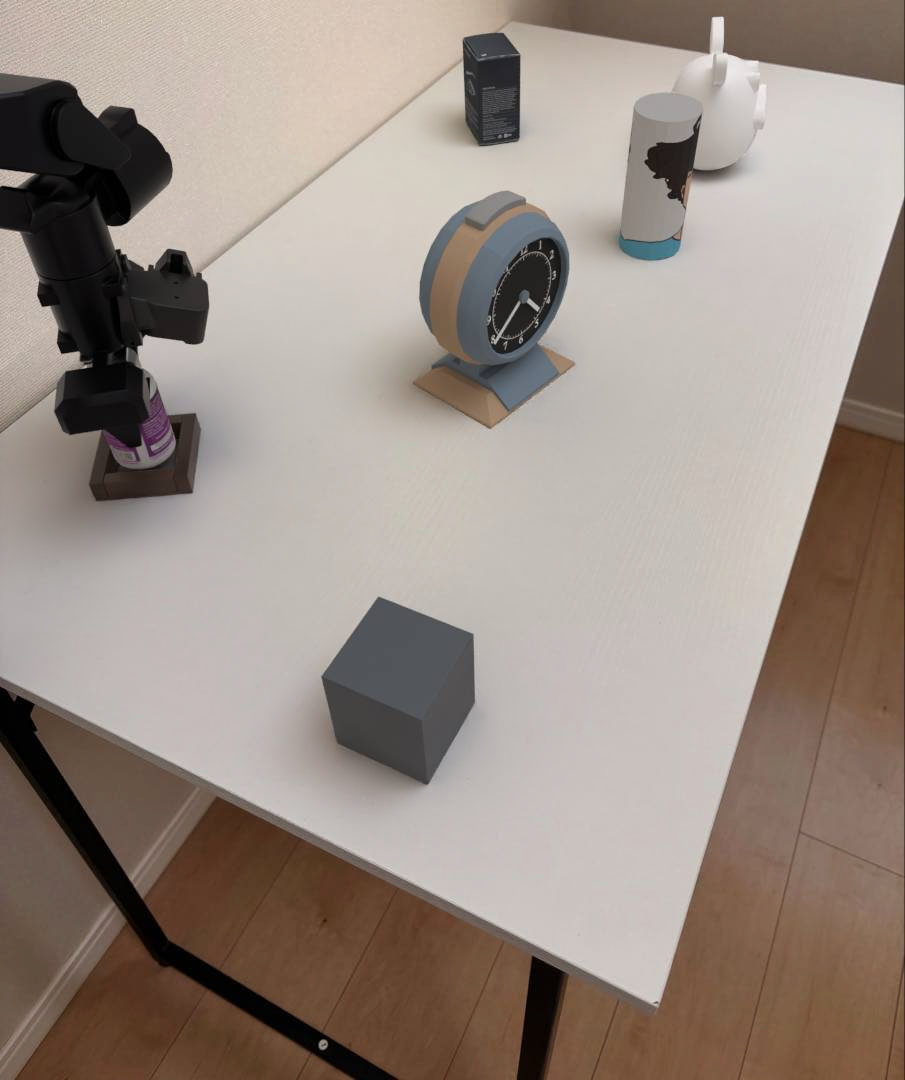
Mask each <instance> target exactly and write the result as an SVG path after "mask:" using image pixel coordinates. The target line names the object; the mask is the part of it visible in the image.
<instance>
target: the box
mask: <svg viewBox="0 0 905 1080" xmlns="http://www.w3.org/2000/svg"><path fill="white" fill-rule="evenodd" d="M461 41H462V63H463V65H462V66H463V90H464V91H463V93H464V114H465V115H464V120H465V123H466V125H467V126H468V128H469V129H470V131H471V132H472V134H473V136H474V138H475V139H476V141H477V143H478V145H480V146H489V145H498V144H499V145H500V144H503V143H510V142H516V141H519V140H520V138H521V135H520V134H521V56H522V55H521V53H520V52H519V51H518V49H517V48H516V47H515V46H514V44H513V43H512V42H511V40H510V38H508V37H507V35H506V34H505V33H504V32H488V33H487V32H486V33H480V34H473V35H469V36H464V37H463V38H462V40H461Z"/></svg>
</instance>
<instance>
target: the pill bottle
mask: <svg viewBox="0 0 905 1080" xmlns="http://www.w3.org/2000/svg"><path fill="white" fill-rule="evenodd" d="M113 360H114V359H113ZM128 361H129V362H133V363H135V365H136V367H138V368H140V369H142V370H143V371H144V374H145V377H150V418H149V419H147V420H146V421H145V422H144V423H142V424H140V429H141V438H142V445H141V446H140V447H135V448H128V447H127V446H125V445H124V444H123V443H121V442H120V441H119V440H117V439H116V438H115V437H113V436H112V435H111V434H109V433H108V432H107V431H105V430H103V432H104V435H105V437H106V439H107V442H108V444H109V446H110V449H111V451H112V453H113V456H114V458H115V459H116V461H117V464H119V465H120V466H122V467H123V468H126V469H131V470H149V469H153V468H155V467H158V466H159V465H161V464H162V463H164V462H165V461H167V460H168V459H169V458H170V457H171V456H172V454H174V451H175V449H176V445H177V440H175V436H174V433H173V430H172V427H171V424H170V421H169V418H168V415H169V414H168V413H167V410H166V407H165V404H164V402H163V398H162V395H161V393H160V390H159V386H158V383H157V381H156V379H155V378H154V376H153V374H152V373H151V372H149V370H147V369H145V368H143V366H142V363H141V361H140V357H139V358H138V356H137V354H136V352H135V351H134V350H132V349H130V348H128ZM92 365H93V364H89V365H86V368H89V367H92Z"/></svg>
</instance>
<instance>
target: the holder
mask: <svg viewBox="0 0 905 1080" xmlns="http://www.w3.org/2000/svg"><path fill="white" fill-rule="evenodd" d="M167 415H168V418H169V421H170V424H171V427H172V430H173V433H174V436H175V440H176V441H178V443H177V450H176V457H175V464H174V467H169V468H156V469H143V470H133V471H122V472H120V471H119V472H116V471H117V466H118V462H117V461H116V459H115V458H114V456H113V453H112V451H111V449H110V446H109V444H108V442H107V439H106V437H105V435H104V432H103V430H100V435H99V439H98V443H97V447H96V452H95V456H94V459H93V465H92V468H91V473H90V477H89V481H88V487H89V489H90V491H91V493H92V495H93V498H94V500H95V502H99V501H100V502H101V501H109V500H111V501H112V500H121V499H133V498H134V499H135V498H145V497H157V496H158V497H159V496H167V495H168V496H169V495H170V496H171V495H178V494H179V495H181V494H191V493H193V492H194V485H195V478H196V471H197V462H198V457H199V456H198V455H199V448H200V440H201V432H202V428H201V425H200V422H199V417H198V414H197V413H196V412H191V413H178V414H167Z"/></svg>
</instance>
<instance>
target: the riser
mask: <svg viewBox="0 0 905 1080" xmlns="http://www.w3.org/2000/svg"><path fill="white" fill-rule="evenodd" d="M474 636H475V634H474V633H472V632H470V631H467V630H465V629H462V628H460V627H457V626H455V625H452V624H449V623H447V622H445V621H442V620H439V619H437V618H435V617H432V616H430V615H427V614H424V613H423V612H422V613H421V612H419V611H416V610H414V609H412V608H409V607H407V606H404V605H402V604H400V603H396V602H394V601H391V600H389V599H386V598H383V597H381V596H377V597H376V599H375V600H374V601H373V603H372V604H371V606H370V608H369V609H368V610H367V611H366V613H365V614H364V616H362V619H361V620H360V621H359V623H358V624H357V625H356V627H355V629H354V630H353V631H352V633H351V634H350V636H349V637H348V638H347V639H346V641H345V642H344V644H343V645H342V646H341V648H340V649H339V651H338V652H337V654H336V655H335V656H334V658H333V659H332V661H331V662H330V663H329V665H328V667H327V668H326V669H325V670H324V672H323V673H322V675H321V682H322V685H323V691H324V694H325V698H326V703H327V706H328V711H329V716H330V720H331V724H332V728H333V732H334V736H335V741H336V743H337V744H339V745H341V746H343V747H346V748H347V749H350V750H352V751H353V752H356V753H358V754H360V755H363V756H365V757H367V758H369V759H371V760H373V761H376V762H378V763H380V764H383V765H384V766H386V767H388V768H391V769H393V770H396V771H397V772H400V773H402V774H404V775H406V776H408V777H410V778H413V779H415V780H417V781H419V782H421V783H424V784H426V785H429V784H430V782H431V780H432V779H433V776H434V775H435V773H436V771H437V769H438V768H439V767H440V764H441V762H442V761H443V759H444V757H445V756H446V754H447V752H448V751H449V749H450V747H451V745H452V744H453V742H454V740H455V738H456V736H457V735H458V733H459V731H460V729H461V727H462V726H463V724H464V722H465V721H466V719H467V718H468V715H469V714H470V712H471V710H472V709H473V708H474V705H475V703H476V686H475V685H476V684H475V682H476V680H475V678H476V677H475V643H474V642H475V640H474V639H475V637H474Z"/></svg>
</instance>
